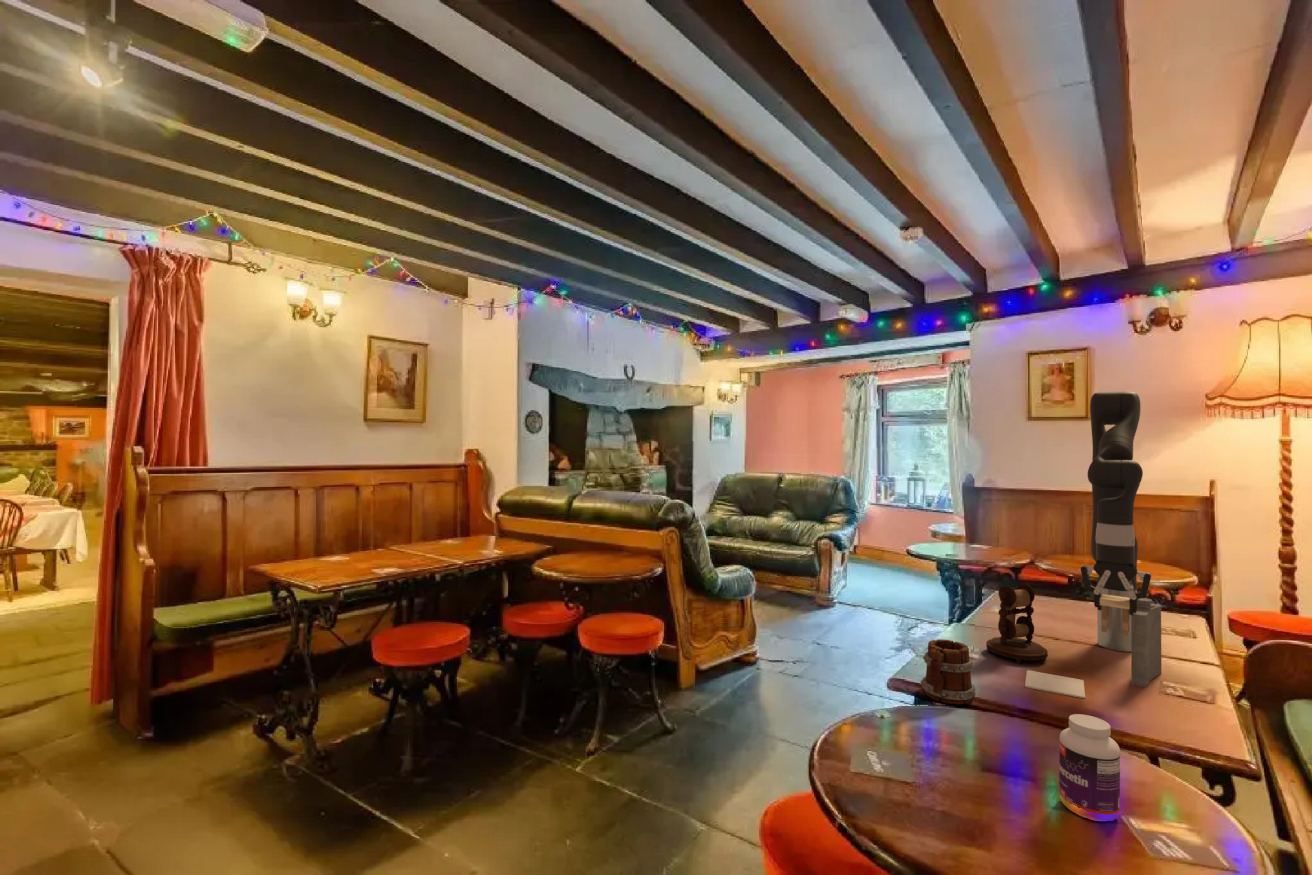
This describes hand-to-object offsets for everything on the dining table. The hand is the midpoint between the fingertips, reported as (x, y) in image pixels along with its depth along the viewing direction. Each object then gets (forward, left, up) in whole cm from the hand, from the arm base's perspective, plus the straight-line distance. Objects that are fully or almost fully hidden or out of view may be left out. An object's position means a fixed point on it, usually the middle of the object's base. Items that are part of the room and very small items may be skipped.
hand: (1115, 611), depth 147 cm
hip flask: (-13, +7, -19) cm, 24 cm away
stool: (0, 0, -5) cm, 5 cm away
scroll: (-13, -21, -19) cm, 31 cm away
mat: (+5, -12, -19) cm, 23 cm away
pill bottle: (+63, -7, -19) cm, 66 cm away
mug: (+28, -33, -19) cm, 48 cm away
